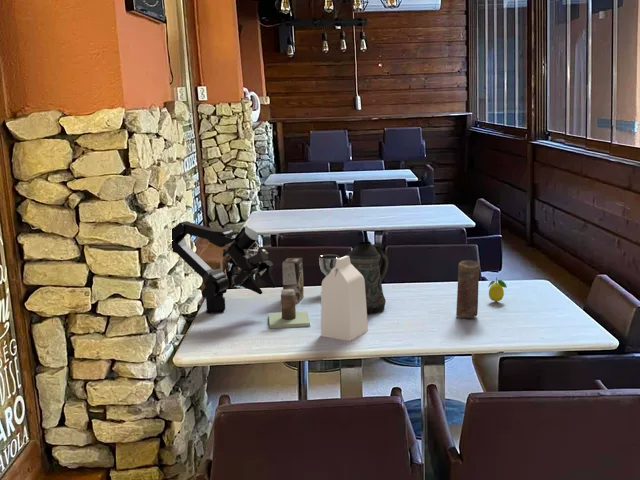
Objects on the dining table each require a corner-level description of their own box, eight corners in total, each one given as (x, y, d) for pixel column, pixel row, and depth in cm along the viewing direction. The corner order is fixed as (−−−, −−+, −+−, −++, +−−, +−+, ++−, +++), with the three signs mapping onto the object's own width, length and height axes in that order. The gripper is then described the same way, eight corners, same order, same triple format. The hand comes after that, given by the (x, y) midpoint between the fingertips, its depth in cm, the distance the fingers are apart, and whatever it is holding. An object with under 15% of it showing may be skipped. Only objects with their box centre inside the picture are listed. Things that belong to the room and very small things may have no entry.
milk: (350, 341, 232) (349, 263, 227) (320, 335, 238) (318, 259, 233) (368, 330, 242) (367, 255, 237) (338, 325, 248) (337, 252, 243)
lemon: (506, 305, 267) (507, 279, 265) (490, 305, 267) (491, 279, 265) (502, 300, 273) (502, 274, 271) (486, 300, 274) (487, 275, 272)
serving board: (269, 328, 247) (269, 324, 247) (269, 316, 261) (268, 313, 260) (310, 326, 248) (309, 322, 248) (307, 314, 262) (307, 311, 261)
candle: (480, 315, 255) (481, 261, 251) (475, 321, 248) (476, 265, 244) (459, 313, 258) (459, 259, 254) (453, 319, 252) (454, 264, 248)
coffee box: (299, 303, 276) (297, 262, 273) (283, 302, 277) (281, 262, 274) (304, 296, 285) (303, 257, 281) (288, 296, 286) (287, 257, 283)
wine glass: (319, 290, 293) (318, 254, 290) (338, 289, 294) (337, 254, 291) (320, 295, 286) (319, 259, 283) (340, 294, 286) (339, 258, 283)
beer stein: (335, 313, 263) (333, 246, 258) (352, 298, 280) (351, 236, 275) (378, 317, 256) (377, 249, 251) (393, 302, 274) (393, 238, 269)
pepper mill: (287, 320, 251) (286, 293, 249) (279, 317, 254) (277, 290, 253) (298, 317, 254) (297, 290, 252) (290, 314, 257) (289, 288, 256)
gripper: (239, 248, 247) (267, 282, 244) (267, 238, 263) (294, 270, 260) (221, 268, 252) (249, 302, 249) (250, 257, 268) (276, 289, 265)
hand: (268, 290), depth 256 cm, fingers open, 9 cm apart
